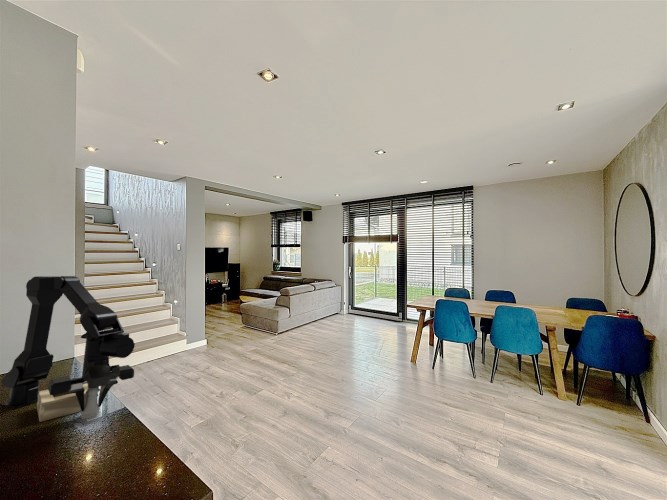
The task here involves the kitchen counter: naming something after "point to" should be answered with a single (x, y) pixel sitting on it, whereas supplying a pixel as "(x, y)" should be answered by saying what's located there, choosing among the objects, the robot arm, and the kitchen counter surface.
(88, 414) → the rook chess piece
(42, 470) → the kitchen counter surface
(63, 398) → the box
